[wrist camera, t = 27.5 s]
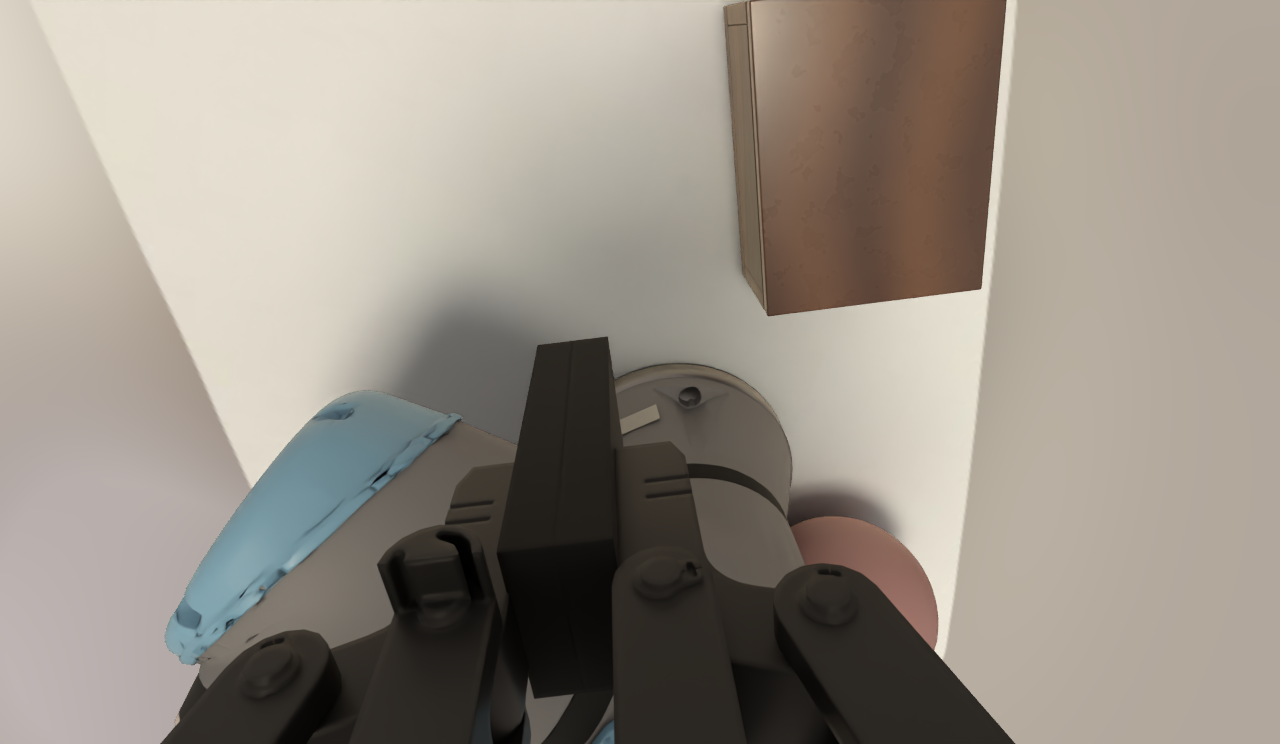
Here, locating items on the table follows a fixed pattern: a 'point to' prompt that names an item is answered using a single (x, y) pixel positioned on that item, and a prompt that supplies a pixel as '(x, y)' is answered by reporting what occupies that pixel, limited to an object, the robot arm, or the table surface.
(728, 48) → the chest
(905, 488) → the table surface
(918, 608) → the mortar and pestle
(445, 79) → the table surface
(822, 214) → the lid
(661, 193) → the table surface
